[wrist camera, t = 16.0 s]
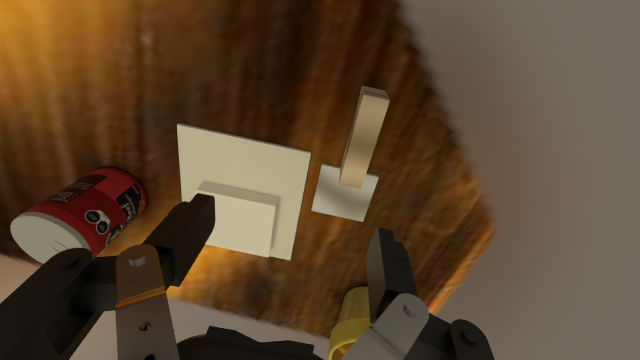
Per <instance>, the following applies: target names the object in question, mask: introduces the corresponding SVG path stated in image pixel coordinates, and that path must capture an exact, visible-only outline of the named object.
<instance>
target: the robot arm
mask: <svg viewBox="0 0 640 360" xmlns="http://www.w3.org/2000/svg"><path fill="white" fill-rule="evenodd" d="M215 220H216V219H215V198H214V196H212V195H207V194H201V193H197V194H196V195H195V196H194V197H193V199H192V200H191V201H190V202H187V201H184V202H182V203H180V204H178V205H176V206H175V207H174V208H173V209H172V210H171V211H170V212H169V213H168V216H166V217H165V218H164V219H163V221H162V222H161V223H160V224H159V225H158V226H157V227H156V228H155V229H154V231H153V232H152V233H151V234H150V235H149V236H148V237H147V239H146V240H145V241H144V242H143V243H142V244H141V245H135V246H132V247H129V248H127V249H125V250H124V251H123V252H121V253H120V254H119V255H118V256H106V257H93V254H92V252H91V251H90V250H89V249H86V248H71V249H67V250H64V251H61V252H59V253H57V254H55V255H54V256H52V257H51V258H50V259H49V260H48V261H47V262H45V263H44V264H43V265H42V266H41V267H40V268H39V269H38V270H37V271H36V272H35V273H34V274H32V275H31V276H30V277H29V278H28V279H27V280H26V281H25V282H24V283H23V284H21V285H20V287H18V288H17V289H16V290H15V291H14V292H13V293H12V294H11V295H9V296H8V297H7V298H6V299H5V300H4V301H3V302H2V303H1V304H0V360H69V359H70V357H71V356H72V355H73V353H74V352H75V351H76V349H77V348H78V346H79V345H80V344H81V342H82V341H83V339H84V338H85V337H86V335H87V334H88V333H89V331H90V330H91V329H92V327H93V326H94V325H95V323H96V322H97V320H98V319H99V318H100V316H101V315H102V313H103V312H104V311H111V310H115V311H116V329H117V349H118V360H323V359H322V358H320V357H319V356H317V355H315V354H313V349H314V345H311V344H305V343H300V342H295V341H290V340H287V341H274V342H258V341H256V340H253V339H251V338H250V337H247V336H245V335H243V334H241V333H239V332H237V331H235V330H230V329H224V328H219V327H214V326H209V329H208V331H207V333H206V334H203V335H198V336H194V337H190V338H188V339H185V340H183V341H181V342H179V343H177V344H176V340H175V335H174V330H173V325H172V320H171V315H170V310H169V305H168V300H167V295H166V291H167V289H168V288H169V286H170V285H171V286H176V287H179V286H180V285H181V283H182V281H183V280H184V278H185V276H186V275H187V273H188V271H189V270H190V268H191V266H192V265H193V263H194V262H195V260H196V258H197V257H198V255H199V253H200V252H201V250H202V248H203V247H204V245H205V243H206V242H207V240H208V238H209V237H210V235H211V234H212V232H213V229H214V226H215ZM366 265H367V280H368V295H369V311H370V323H371V324H373V326H369V327H368V328H367V329H366V330H365V331H364V332H363V333H362V335H361V336H360V337H359V338H358V339H357V341H356V342H355V343H354V344H353V345H352V346H351V348H350V349H349V350H348V351H347V352H346V354H345V355H344V356H343V357H342V358H341V360H494V357H493V354H492V351H491V349H490V346H489V343H488V340H487V338H486V336H485V335H484V334H483V332H482V331H481V330H480V329H479V328H478V327H477V326H476V325H474V324H473V323H471V322H469V321H466V320H462V319H458V320H455V321H454V322H452V324H450V323H448V322H446V321H444V320H442V319H440V318H438V317H436V316H434V315H432V314H431V313H429V311H428V309H427V307H426V305H425V304H424V303H423V302H422V300H420V299H419V298H418V295H417V291H416V287H415V282H414V278H413V274H412V270H411V265H410V262H409V257H408V253H407V250H406V249H405V248H404V246H403V245H402V243H400V242H395V241H394V236H393V231H392V230H388V229H383V228H376V229H375V232H374V234H373V237H372V240H371V243H370V245H369V248H368V251H367V258H366Z"/></svg>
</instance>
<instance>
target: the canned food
mask: <svg viewBox="0 0 640 360" xmlns="http://www.w3.org/2000/svg"><path fill="white" fill-rule="evenodd" d="M146 203H147V197H146V193H145V191H144V189H143V187H142V186H141V185H140V183H139V182H138V181H137V180H136V179H135V178H133V177H132V176H131V175H129V174H128V173H126V172H124V171H122V170H119V169H115V168H102V169H97V170H94V171H92V172H91V173H89V174H87V175H86V176H84V177H82V178H81V179H79V180H77V181H76V182H74V183H72V184H71V185H69V186H67V187H66V188H64V189H62V190H61V191H59V192H57V193H56V194H54V195H52V196H51V197H49V198H47V199H45V200H44V201H42V202H40V203H39V204H37V205H35V206H34V207H32V208H30V209H29V210H28V211H26V212H24V213H23V214H21V215H20V216H19V217H17V218H16V219H15V220H14V221H13V222H12V224H11V233H12V236H13V237H14V239H15V241H16V242H17V244H18V245H19V246H20V247H21V248H22V249H23V250H24V251H25V252H26V253H27V254H29V255H30V256H31V257H33V258H34V259H36V260H37V261H39V262H41V263H43V264H44V263H45V262H47V261H48V260H49V259H50V258H51V257H52V256H54V255H55V254H57V253H59V252H61V251H64V250H67V249H71V248H86V249H89V250H90V251H91V252H92V254H93V257H96V256H97V255H98V254H99V253H100V252H101V251H102V250H103V249H104V248H105V247H106V246H107V245H108V244H109V243H110V242H111V241H112V240H113V239H115V238H116V237H117V236H118V235H119V234H120V233H121V232H122V231H123V230H124V229H125V228H126V227H127V226H128V225H129V224H130V223H131V222H132V221H133V220H134V219H135V218H137V217H138V216H139V215H140V214H141V213H142V211H143V210H144V208H145V206H146Z"/></svg>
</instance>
